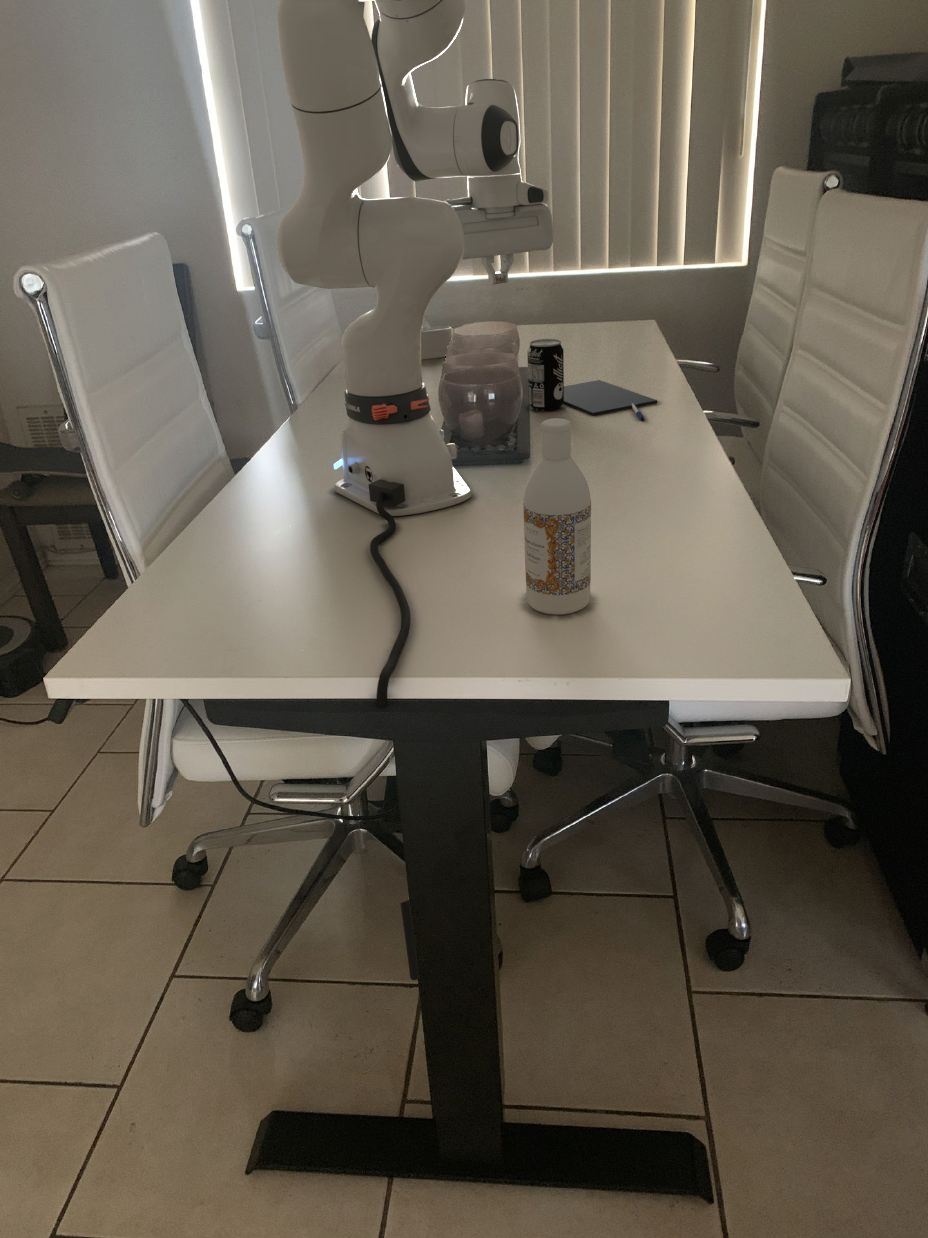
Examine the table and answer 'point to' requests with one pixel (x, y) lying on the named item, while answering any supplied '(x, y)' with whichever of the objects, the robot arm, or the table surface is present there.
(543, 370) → the beverage can
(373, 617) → the table surface
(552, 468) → the bath foam
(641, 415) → the ballpoint pen
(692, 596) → the table surface
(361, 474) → the robot arm
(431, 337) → the phone holder
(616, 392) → the mat
